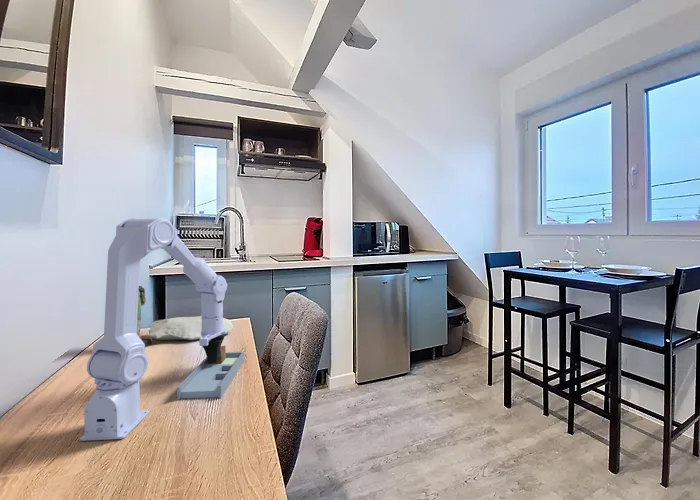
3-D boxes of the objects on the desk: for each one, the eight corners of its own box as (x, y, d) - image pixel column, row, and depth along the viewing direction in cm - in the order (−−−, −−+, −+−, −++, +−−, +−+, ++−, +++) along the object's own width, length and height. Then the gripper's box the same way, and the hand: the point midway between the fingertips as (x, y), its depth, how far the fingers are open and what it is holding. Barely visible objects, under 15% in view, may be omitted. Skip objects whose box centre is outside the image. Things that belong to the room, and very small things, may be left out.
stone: (152, 311, 129) (230, 307, 143) (152, 330, 130) (229, 325, 143) (146, 328, 110) (236, 322, 124) (145, 350, 111) (235, 341, 125)
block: (221, 363, 94) (221, 350, 94) (207, 364, 94) (207, 350, 94) (225, 358, 98) (225, 345, 98) (212, 359, 98) (212, 346, 97)
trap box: (221, 398, 77) (220, 386, 77) (177, 399, 76) (176, 387, 76) (244, 361, 100) (244, 351, 100) (210, 362, 99) (210, 352, 99)
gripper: (218, 322, 85) (219, 372, 86) (233, 310, 100) (233, 352, 100) (191, 322, 84) (191, 373, 85) (210, 310, 99) (210, 353, 99)
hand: (212, 362), depth 92 cm, fingers closed
